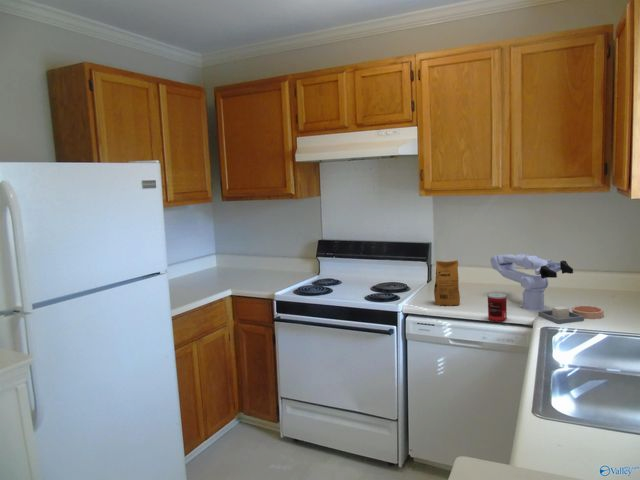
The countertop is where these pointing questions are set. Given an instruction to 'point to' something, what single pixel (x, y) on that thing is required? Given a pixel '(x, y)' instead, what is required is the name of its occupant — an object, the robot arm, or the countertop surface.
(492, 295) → the canned food
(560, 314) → the stone block
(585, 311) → the bowl
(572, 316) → the parts tray
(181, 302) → the countertop surface
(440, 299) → the coffee package
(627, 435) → the countertop surface
